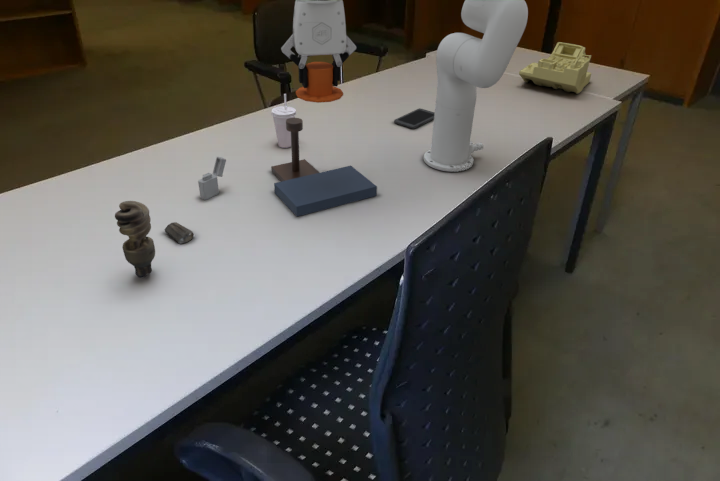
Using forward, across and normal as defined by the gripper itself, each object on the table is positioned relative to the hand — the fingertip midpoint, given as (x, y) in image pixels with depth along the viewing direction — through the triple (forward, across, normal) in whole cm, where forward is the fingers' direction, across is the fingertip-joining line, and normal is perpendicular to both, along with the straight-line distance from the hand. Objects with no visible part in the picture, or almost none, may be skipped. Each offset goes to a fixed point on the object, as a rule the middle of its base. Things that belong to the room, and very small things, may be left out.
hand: (319, 84), depth 120 cm
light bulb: (+25, -38, -25) cm, 51 cm away
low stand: (+25, +1, -2) cm, 25 cm away
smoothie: (+25, -4, +27) cm, 37 cm away
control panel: (+25, +95, +59) cm, 115 cm away
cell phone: (+25, +37, +37) cm, 58 cm away
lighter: (+25, -24, +4) cm, 35 cm away
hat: (+2, 0, 0) cm, 2 cm away
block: (+25, -31, -13) cm, 42 cm away
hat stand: (+25, -4, +9) cm, 27 cm away
